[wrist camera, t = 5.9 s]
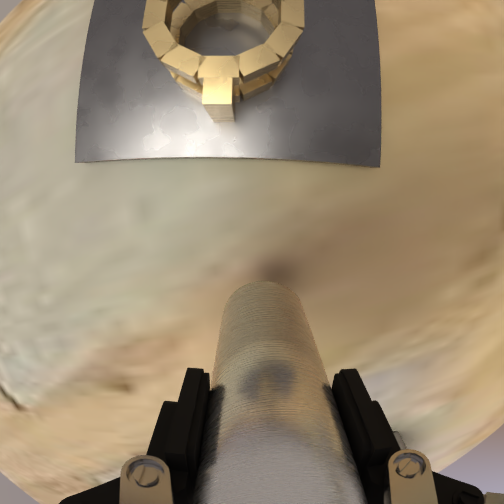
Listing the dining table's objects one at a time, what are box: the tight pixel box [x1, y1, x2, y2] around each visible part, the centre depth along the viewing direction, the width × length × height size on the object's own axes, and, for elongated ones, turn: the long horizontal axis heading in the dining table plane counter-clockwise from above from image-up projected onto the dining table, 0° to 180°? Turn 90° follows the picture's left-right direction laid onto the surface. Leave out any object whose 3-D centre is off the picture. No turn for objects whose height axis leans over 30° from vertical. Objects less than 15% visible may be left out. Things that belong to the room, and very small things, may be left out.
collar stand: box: [75, 0, 381, 167], centre depth 16 cm, size 22×16×8 cm
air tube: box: [192, 281, 368, 504], centre depth 9 cm, size 5×5×16 cm
